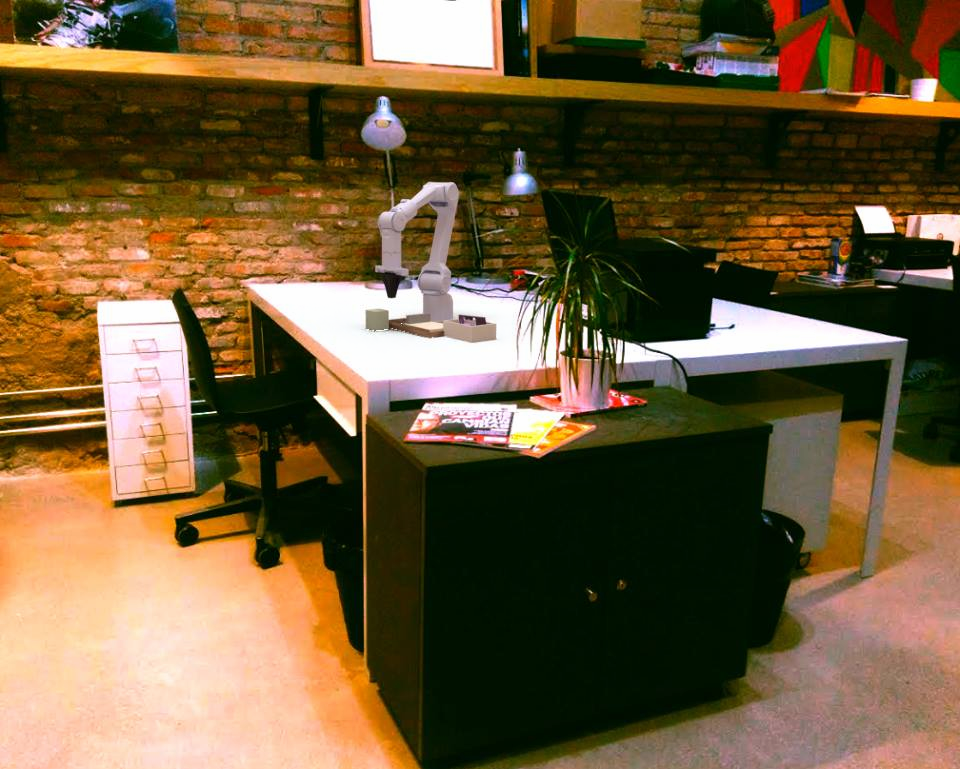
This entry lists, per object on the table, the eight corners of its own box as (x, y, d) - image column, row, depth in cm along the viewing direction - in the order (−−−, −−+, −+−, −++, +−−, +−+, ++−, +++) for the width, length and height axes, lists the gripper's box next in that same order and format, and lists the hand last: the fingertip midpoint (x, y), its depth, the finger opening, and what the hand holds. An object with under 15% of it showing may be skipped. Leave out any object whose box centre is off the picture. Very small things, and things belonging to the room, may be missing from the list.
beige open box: (467, 332, 256) (467, 317, 255) (496, 339, 247) (496, 323, 246) (442, 335, 251) (442, 320, 250) (471, 342, 241) (471, 326, 240)
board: (406, 322, 274) (406, 315, 273) (459, 334, 254) (459, 326, 253) (377, 325, 267) (377, 318, 266) (429, 338, 247) (429, 330, 246)
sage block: (379, 327, 263) (379, 308, 262) (388, 330, 260) (388, 310, 258) (365, 329, 260) (365, 309, 259) (374, 331, 256) (374, 311, 255)
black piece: (486, 316, 246) (460, 313, 250) (477, 324, 242) (450, 321, 246) (490, 336, 249) (463, 333, 253) (481, 345, 245) (454, 341, 250)
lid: (429, 323, 263) (429, 312, 262) (456, 328, 253) (456, 318, 253) (403, 326, 257) (403, 315, 256) (429, 332, 247) (429, 321, 246)
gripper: (366, 251, 258) (367, 296, 261) (394, 254, 248) (394, 301, 251) (386, 250, 263) (386, 294, 266) (414, 253, 252) (414, 299, 255)
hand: (391, 297), depth 259 cm, fingers closed
